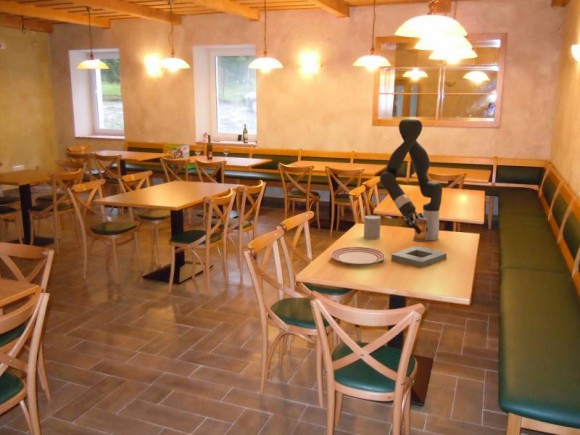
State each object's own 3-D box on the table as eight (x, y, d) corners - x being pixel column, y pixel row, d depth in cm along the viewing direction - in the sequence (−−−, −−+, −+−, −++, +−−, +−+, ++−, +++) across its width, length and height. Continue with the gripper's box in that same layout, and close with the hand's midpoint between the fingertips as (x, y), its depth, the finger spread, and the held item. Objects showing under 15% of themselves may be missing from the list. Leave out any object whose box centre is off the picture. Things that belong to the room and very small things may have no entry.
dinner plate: (384, 270, 250) (384, 263, 249) (327, 266, 255) (327, 260, 255) (385, 253, 276) (385, 247, 276) (334, 251, 282) (334, 245, 281)
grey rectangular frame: (416, 251, 280) (416, 246, 279) (446, 258, 267) (446, 253, 266) (391, 259, 265) (391, 254, 264) (421, 268, 252) (422, 262, 252)
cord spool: (418, 238, 268) (419, 217, 266) (429, 240, 263) (430, 219, 261) (410, 240, 264) (411, 219, 261) (421, 242, 259) (422, 221, 257)
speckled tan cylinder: (362, 238, 306) (363, 218, 303) (365, 234, 315) (365, 214, 312) (378, 239, 303) (379, 219, 300) (381, 235, 312) (381, 215, 309)
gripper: (400, 202, 260) (420, 230, 254) (417, 199, 270) (436, 225, 264) (391, 211, 265) (410, 238, 259) (408, 207, 275) (426, 233, 269)
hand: (423, 232), depth 261 cm, fingers closed on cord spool, 5 cm apart
